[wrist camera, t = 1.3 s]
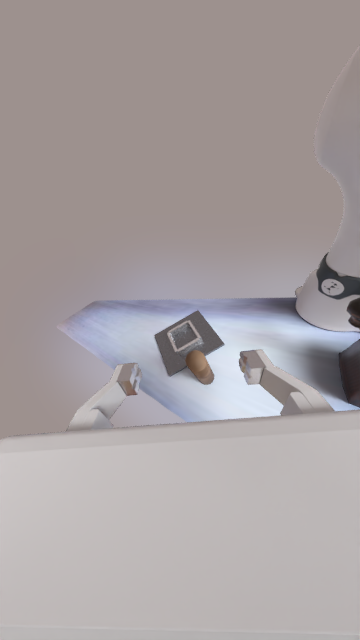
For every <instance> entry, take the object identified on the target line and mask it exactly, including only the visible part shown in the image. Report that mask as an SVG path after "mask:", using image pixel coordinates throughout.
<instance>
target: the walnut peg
mask: <svg viewBox="0 0 360 640" xmlns="http://www.w3.org/2000/svg"><path fill="white" fill-rule="evenodd" d="M185 362H186V365H187V366H188V368H189V369H190V370H191V371H192V372H193V373H194V375H195V376H196V377H197V378H198V379H199V380H200V382H201V383H203V384H205V385H208V384H211V383H212V382H213V380H214V374H213V372H212V370H211V368H210V366H209V364H208V362H207V360H206V358H205V356H204V354H203V353H202V352H201V351H198V350H193V351H191V352H189V353H188V354H187V356H186V359H185Z"/></svg>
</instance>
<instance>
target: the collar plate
mask: <svg viewBox="0 0 360 640" xmlns="http://www.w3.org/2000/svg"><path fill="white" fill-rule="evenodd" d="M155 338H156V340H157V343H158V346H159V349H160V352H161V354H162V357H163V360H164V363H165V365H166V368H167V371H168V374H169V376H172V375H174V374H175V373H177V372H179V371H181V370H182V369H184V368H186V367H187V365H186V362H185V359H186V356H187V354H188V353H189V352H191V351H193V350H198V351H201V352H202V353H203V354H204V356H206V355H208V354H210V353H211V352H213V351H215V350H217V349H218V348H220V347H222V346H223V345H224V343H223V342H222V340H221V339H220V338H219V336H218V335H217V334H216V333H215V331H214V330H213V329H212V328H211V326H210V325H209V324H208V322H207V321H206V320H205V319H204V317H203V316H202V315H201V314H200V312H199V311H198V310H197V311H196V312H194V313H192V314H191V315H189V316H187V317H185V318H184V319H182V320H180V321H178V322H177V323H175V324H173V325H172V326H170V327H168V328H166V329H165V330H163V331H161V332H159V333H158V334H156V335H155Z"/></svg>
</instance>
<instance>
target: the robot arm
mask: <svg viewBox="0 0 360 640" xmlns="http://www.w3.org/2000/svg"><path fill="white" fill-rule="evenodd" d="M314 151H315V156H316V159H317V161H318V163H319V164H320V166H321V167H322V168H324V169H325V170H327V171H328V172H330V174H331V175H332V176H334V178H335V179H336V181H337V182H338V184H339V186H340V188H341V191H342V194H343V199H344V213H343V218H342V222H341V224H340V227H339V230H338V232H337V235H336V238H335V240H334V242H333V244H332V247H331V249H330V251H329V252H328V253H327V254H326V255H325V256H324V258H323V259H322V260H321V262H320V264H319V266H318V269H316V270H314V271H312V272H311V273H310V274H309V276H308V277H307V279H306V281H305V283H304V285H303V286H301V287H299V288H297V289H296V291H295V294H296V297H297V301H296V309H297V312H298V313H299V315H300V316H301V317H302V318H303V319H304V320H306V321H307V322H309V323H311V324H313V325H315V326H317V327H320V328H323V329H327V330H332V331H357V332H360V330H359V328H356V327H354V326H352V325H351V324H350V323H349V322H348V320H349V318H350V316H351V315H350V314H349V313H348V312H347V311H346V310H347V307H348V304H349V302H350V301H352V300H354V299H357V298H360V45H359V47H358V48H357V49H356V51H355V52H354V54H353V55H352V56H351V58H350V59H349V61H348V62H347V63H346V65H345V66H344V68H343V69H342V71H341V73H340V74H339V76H338V77H337V79H336V81H335V83H334V84H333V86H332V88H331V90H330V92H329V94H328V96H327V98H326V100H325V102H324V105H323V107H322V110H321V112H320V115H319V118H318V121H317V125H316V129H315V135H314ZM240 357H241V358H240V359H239V366H240V369H241V371H242V372H243V373H244V378H245V380H246V382H247V384H248V385H251V384H260V385H261V386H262V387H263V388H264V389H265V390H267V391H268V392H269V393H270V394H271V395H272V396H273V397H275V398H276V399H277V400H278V401H279V402H280V403H282V404H283V405H284V407H283V409H282V411H281V413H280V414H281V416H268V417H254V418H241V419H228V420H214V421H201V422H187V423H175V424H161V425H147V426H135V427H122V428H113V424H112V423H111V422H110V421H109V419H110V418H111V416H112V415H113V414H114V413H115V411H116V410H117V409H118V407H119V406H120V405H121V403H122V402H123V401H124V400H125V398H126V397H127V396H129V395H137V394H138V390H139V383H140V381H141V378H142V373H141V370H140V369H139V368H138V366H139V365H138V363H128V364H118V365H117V366H116V369H115V371H114V373H113V375H112V377H111V379H110V382H109V383H107V384H106V385H105V386H104V387H102V388H101V389H100V390H99V391H98V392H97V393H96V394H95V395H93V396H92V397H91V398H90V399H89V400H88V401H87V402H86V403H85V404H84V405H82V406H81V407H80V408H79V409H78V410H77V412H76V414H75V415H74V417H73V419H72V421H71V423H70V424H69V426H68V428H67V430H66V431H65V432H56V433H55V432H54V433H41V434H28V435H14V436H8V437H5V438H3V439H1V440H0V640H360V410H348V411H334V410H333V408H332V407H331V406H330V405H329V404H328V403H327V401H326V400H325V399H324V398H323V397H322V396H321V395H320V393H319V392H318V391H317V390H316V389H314V388H313V387H311V386H309V385H307V384H306V383H304V382H302V381H301V380H299V379H297V378H295V377H294V376H292V375H290V374H289V373H287V372H285V371H283V370H282V369H280V368H278V367H274V365H273V364H272V362H271V361H270V360H269V358H268V357H267V355H266V354H265V353H264V351H263V350H262V349H260V350H250V351H242V352H240Z"/></svg>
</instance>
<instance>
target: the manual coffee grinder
mask: <svg viewBox="0 0 360 640" xmlns="http://www.w3.org/2000/svg"><path fill="white" fill-rule="evenodd" d="M346 311H347V312H348V313H349V314H350V315H351V316H350V318H349V320H348V322H349V323H350V324H351V325H352V326H354V327H356V328H359V330H360V298H357V299H354V300H352V301H350V302H349V304H348V307H347V310H346ZM339 366H340V372H341V378H342V383H343V388H344V391H345V394H346V396H347V399H348V402H349V403H350V404H353V405H355V406H358V407H360V339H359V340H358V341H356V342H355V343H354V344H352V345H351V346H350V347H349V348H347V349H346V350H344V351H343V352H341V353H339Z"/></svg>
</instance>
